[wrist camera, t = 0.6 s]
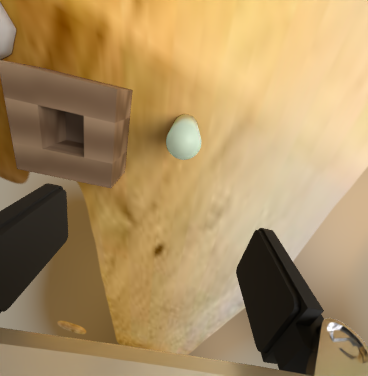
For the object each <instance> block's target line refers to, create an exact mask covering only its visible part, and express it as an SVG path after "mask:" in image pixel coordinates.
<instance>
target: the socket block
mask: <svg viewBox="0 0 368 376" xmlns="http://www.w3.org/2000/svg"><path fill="white" fill-rule="evenodd" d="M0 76H1V82H2V87H3V93H4V98H5V104H6V109H7V115H8V120H9V126H10V131H11V137H12V143H13V148H14V154H15V159H16V165H17V169H21V170H25V171H30V172H35V173H40V174H45V175H50V176H54V177H59V178H64V179H69V180H74V181H79V182H83V183H88V184H93V185H98V186H103V187H107V188H112V187H113V185H114V184H115V183H116V182H117V181H118V179H119V178H120V177H121V176H122V175H123V173H124V172H125V165H126V154H127V143H128V132H129V121H130V110H131V99H132V90H129V89H125V88H121V87H117V86H113V85H109V84H105V83H101V82H97V81H93V80H89V79H85V78H81V77H77V76H73V75H69V74H65V73H61V72H57V71H53V70H49V69H45V68H41V67H36V66H30V65H25V64H19V63H14V62H8V61H3V60H0Z"/></svg>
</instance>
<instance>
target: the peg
mask: <svg viewBox="0 0 368 376" xmlns="http://www.w3.org/2000/svg"><path fill="white" fill-rule="evenodd" d="M166 145H167V149H168V151H169V152H170V154H171V155H173V156H174V157H176V158H178V159H182V160H186V159H190V158H192V157H194V156H195V155H196V154H197V153H198V152H199V150H200V147H201V137H200V133H199V129H198V125H197V122H196V120H195V118H194V117H192V116H191V115H188V114H183V115H180V116H179V117H178V118H177V119H176V120H175V122H174V124H173V126H172V127H171V129H170V131H169V133H168V135H167V138H166Z"/></svg>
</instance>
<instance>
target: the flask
mask: <svg viewBox="0 0 368 376" xmlns="http://www.w3.org/2000/svg"><path fill="white" fill-rule="evenodd" d="M15 34H16V28H15V26H14V25H13V23H12V21H11V20H10V18H9V16H8V14H7V13H6V11H5V9H4V8H3V6H2V4H1V3H0V60H1V59H3V58H5V57H7V56H8V55H10V54H12V49H13V44H14V39H15Z"/></svg>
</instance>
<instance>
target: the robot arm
mask: <svg viewBox="0 0 368 376" xmlns="http://www.w3.org/2000/svg"><path fill="white" fill-rule="evenodd" d="M67 238H68V222H67V199H66V191H65V190H63V188H62V187H61V186H58V185H53V184H45V185H43V186H42V187H40V188H38V189H37V190H35V191H33V192H31V193H30V194H28V195H27V196H25V197H23V198H21V199H20V200H19V201H17V202H15V203H13V204H12V205H10V206H8V207H6V208H5V209H3V210H1V211H0V313H1V311H6V310H7V309H8V308H9V307H10V306H11V305H12V304H13V303H14V301H15V300H16V299H17V298H18V297H19V296H20V295H21V293H22V292H23V291H24V290H25V289H26V287H27V286H28V285H29V284H30V283H31V281H32V280H33V279H34V278H35V277H36V276H37V275H38V274H39V272H40V271H41V270H42V269H43V268H44V266H45V265H46V264H47V263H48V262H49V261H50V259H51V258H52V257H53V256H54V255H55V254H56V253H57V251H58V250H59V249H60V248H61V247H62V245H63V244H64V243H65V242H66V240H67ZM236 274H237V278H238V281H239V285H240V289H241V293H242V296H243V300H244V304H245V307H246V311H247V314H248V318H249V322H250V326H251V329H252V333H253V337H254V340H255V344H256V347H257V349H258V351H260V352H261V355H262V358H263V361H264V362H267V363H274V364H278V367H279V370H277V369H271V368H265V367H260V366H254V365H247V364H240V363H234V362H227V361H221V360H215V359H209V358H202V357H196V356H189V355H183V354H176V353H170V352H163V351H156V350H150V349H143V348H136V347H130V346H123V345H116V344H109V343H103V342H95V341H89V340H82V339H75V338H69V337H62V336H55V335H48V334H40V333H34V332H27V331H20V330H13V329H5V328H0V376H368V346H367V345H366V343H365V342H364V341H363V339H362V338H361V337H360V336H359V335H358V334H357V333H356V332H355V331H353V330H352V329H351V328H350V327H349V326H347V325H346V324H344V323H342V322H341V321H338V320H336V319H334V318H326V319H324V318H323V317H322V315H321V313H322V312H323V311H324V310H323V309H322V307H321V306H320V304H319V302H318V301H317V299H316V298H315V296H314V295H313V293H312V292H311V290H310V289H309V287H308V285H307V283H306V282H305V280H304V279H303V277H302V276H301V274H300V272H299V271H298V269H297V268H296V266H295V265H294V263H293V261H292V260H291V258H290V257H289V255H288V254H287V252H286V250H285V249H284V247H283V246H282V244H281V243H280V241H279V239H278V238H277V236H276V235H275V233H274V232H273V231H272V230H268V229H264V228H260V229H258V230H256V231H255V232H254V234H253V236H252V238H251V240H250V242H249V244H248V246H247V248H246V250H245V252H244V254H243V256H242V258H241V260H240V262H239V264H238V266H237V270H236Z"/></svg>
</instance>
